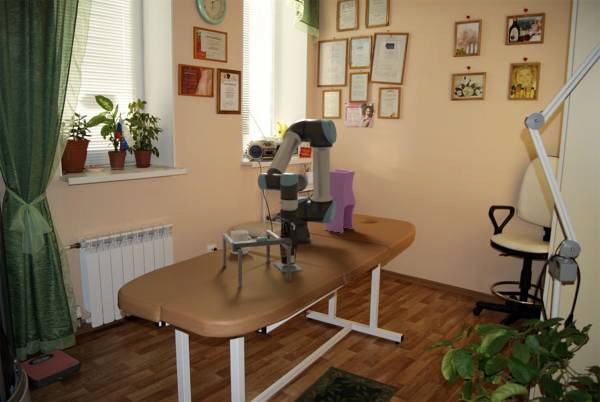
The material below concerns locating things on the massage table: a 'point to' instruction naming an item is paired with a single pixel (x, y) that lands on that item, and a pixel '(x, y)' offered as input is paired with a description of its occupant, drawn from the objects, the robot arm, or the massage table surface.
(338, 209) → the purple arched stand
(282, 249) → the coffee cup
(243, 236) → the mug
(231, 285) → the massage table surface
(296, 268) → the mat
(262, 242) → the bar
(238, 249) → the frame
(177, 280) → the massage table surface
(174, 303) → the massage table surface
